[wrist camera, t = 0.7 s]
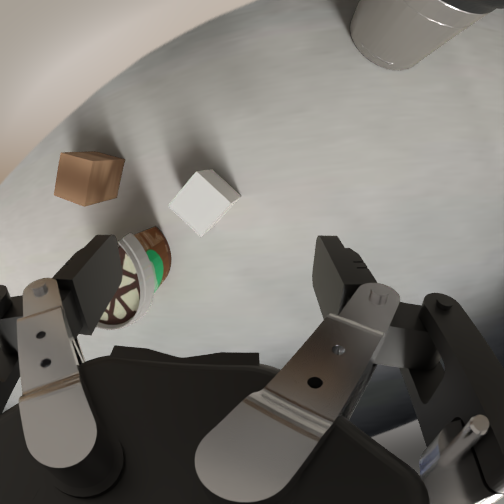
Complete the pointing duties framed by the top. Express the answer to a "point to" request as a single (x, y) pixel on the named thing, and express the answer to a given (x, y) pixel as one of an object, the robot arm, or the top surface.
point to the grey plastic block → (204, 200)
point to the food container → (137, 277)
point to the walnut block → (88, 177)
